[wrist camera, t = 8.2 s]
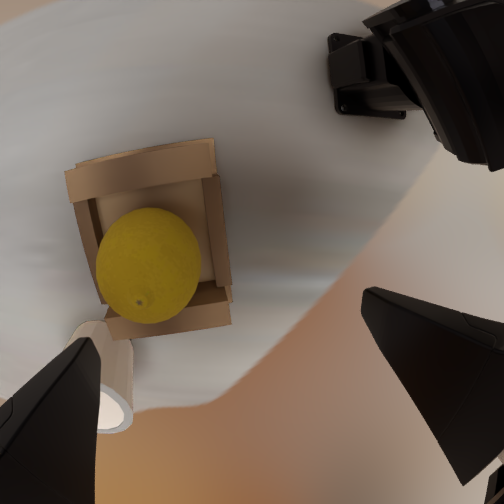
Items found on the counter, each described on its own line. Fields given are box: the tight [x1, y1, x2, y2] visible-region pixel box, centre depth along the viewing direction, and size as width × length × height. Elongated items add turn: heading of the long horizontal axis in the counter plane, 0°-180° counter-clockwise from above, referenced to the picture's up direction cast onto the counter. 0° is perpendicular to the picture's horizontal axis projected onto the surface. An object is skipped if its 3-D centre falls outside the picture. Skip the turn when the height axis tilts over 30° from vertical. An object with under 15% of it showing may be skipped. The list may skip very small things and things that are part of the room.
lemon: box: [96, 207, 201, 324], centre depth 14 cm, size 6×6×8 cm
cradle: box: [64, 138, 233, 341], centre depth 17 cm, size 9×12×4 cm
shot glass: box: [64, 320, 134, 434], centre depth 18 cm, size 7×7×7 cm
